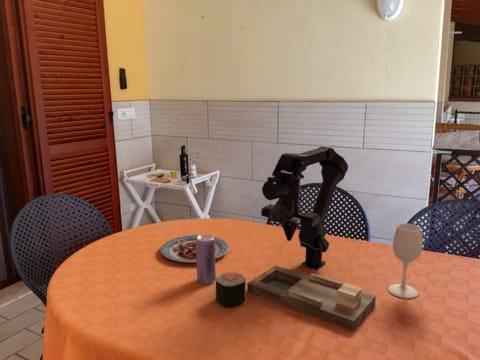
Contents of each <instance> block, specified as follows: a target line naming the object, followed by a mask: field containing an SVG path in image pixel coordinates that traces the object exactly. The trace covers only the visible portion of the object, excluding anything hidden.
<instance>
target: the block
mask: <svg viewBox="0 0 480 360" xmlns="http://www.w3.org/2000/svg"><path fill="white" fill-rule="evenodd" d="M362 292H363V288H362V287H359V286H354V285H352V284H349V283H344V284H342V287H341V288H340V289H338V292H337V304H340V305H343V306H346V307H349V308H352V309H355V308H356V307H357V306H358V304H359V303H360V302H361V297H362Z"/></svg>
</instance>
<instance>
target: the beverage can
mask: <svg viewBox="0 0 480 360" xmlns="http://www.w3.org/2000/svg"><path fill="white" fill-rule="evenodd" d="M198 235H199V236H197V240H196V259H197V262H196V280H197V282H198V283H199V284H200V285H211V284H213V283H214V282H216V277H217V276H216V259H215V239H214V237H215V236H214V235H212V234H209V233H208V234H207V233H206V234H198Z"/></svg>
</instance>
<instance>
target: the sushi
mask: <svg viewBox="0 0 480 360" xmlns="http://www.w3.org/2000/svg"><path fill="white" fill-rule="evenodd" d="M215 301H216V303H217V304H218V305H219V306H221V307H223V308H227V309H231V308H237V307H240V306H242V305H244V303H246V276H244V275H243V273H240V272H237V271H236V272H235V271H231V272H230V271H228V272H226V273H225V272H224V273H223V272H222V273H221V274H219V275H218V276H216V279H215Z"/></svg>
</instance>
